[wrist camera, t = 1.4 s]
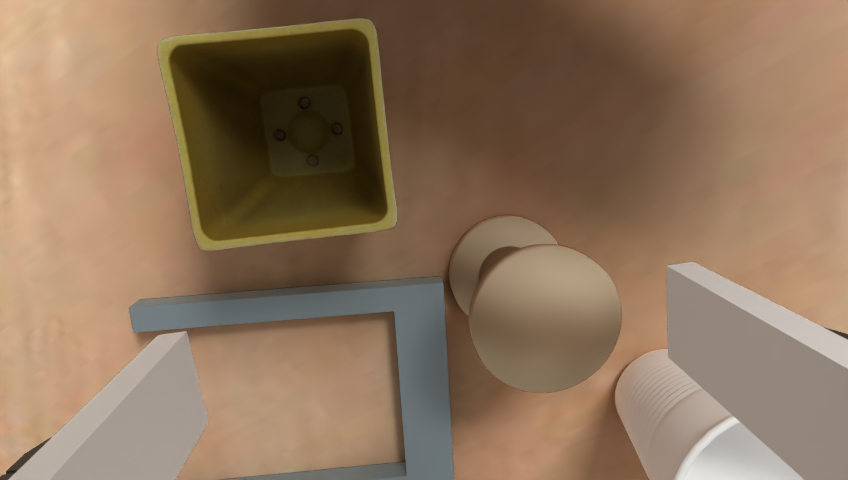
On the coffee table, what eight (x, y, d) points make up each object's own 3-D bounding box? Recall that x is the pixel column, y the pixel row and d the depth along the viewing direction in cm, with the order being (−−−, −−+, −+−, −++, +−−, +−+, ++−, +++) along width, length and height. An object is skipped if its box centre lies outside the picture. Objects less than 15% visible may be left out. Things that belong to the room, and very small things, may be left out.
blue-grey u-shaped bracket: (176, 504, 36) (168, 520, 34) (140, 299, 33) (128, 307, 31) (451, 477, 37) (454, 491, 35) (440, 275, 34) (443, 282, 32)
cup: (605, 476, 38) (694, 617, 27) (566, 349, 35) (646, 448, 25) (742, 427, 37) (886, 550, 27) (712, 297, 35) (855, 374, 25)
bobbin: (445, 219, 33) (468, 254, 24) (559, 211, 33) (623, 242, 25) (451, 328, 34) (475, 399, 26) (560, 319, 35) (620, 386, 26)
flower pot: (395, 201, 33) (399, 230, 24) (246, 218, 32) (195, 254, 23) (377, 46, 31) (375, 15, 22) (219, 61, 30) (152, 36, 21)
